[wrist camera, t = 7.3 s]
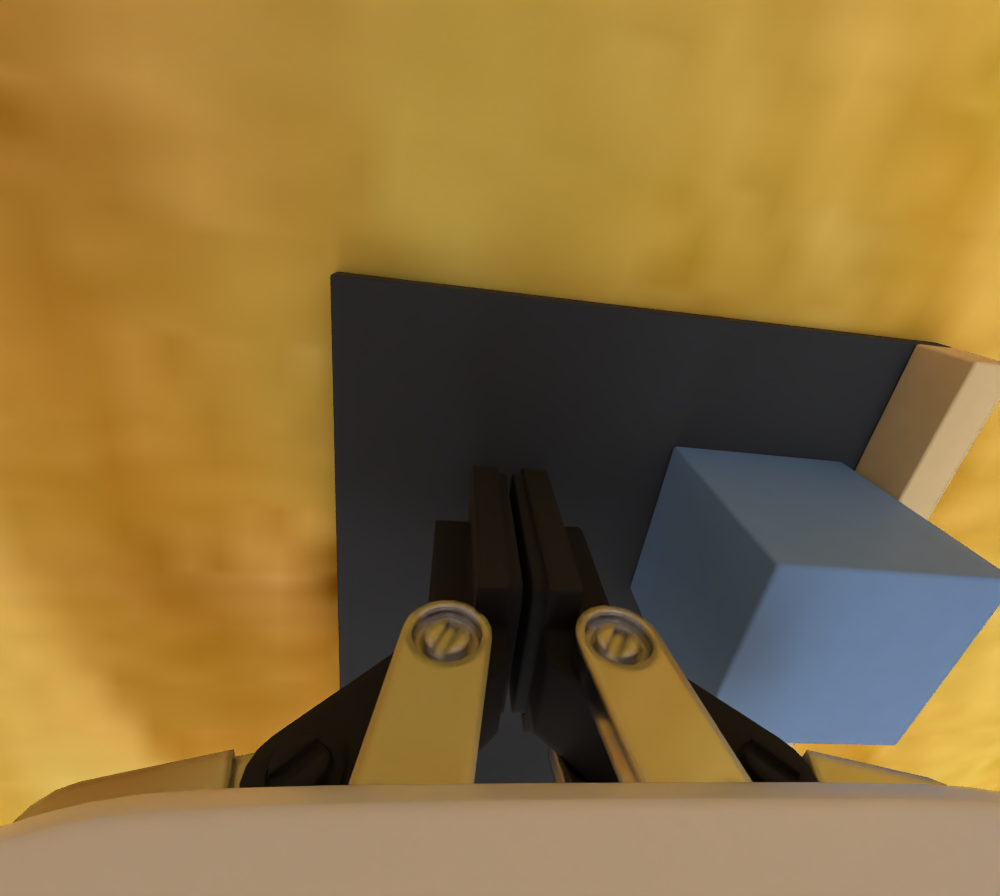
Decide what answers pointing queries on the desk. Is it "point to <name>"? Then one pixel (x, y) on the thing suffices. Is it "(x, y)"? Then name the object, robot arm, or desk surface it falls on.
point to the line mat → (596, 431)
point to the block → (807, 594)
